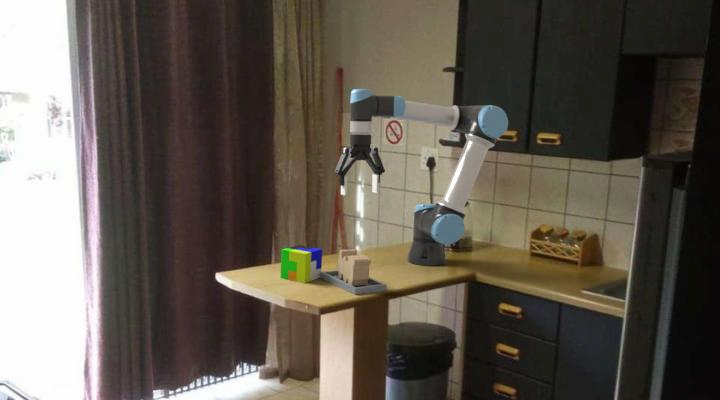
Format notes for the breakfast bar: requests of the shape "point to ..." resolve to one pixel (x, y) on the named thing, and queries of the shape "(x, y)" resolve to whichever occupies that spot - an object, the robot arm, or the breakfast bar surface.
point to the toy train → (353, 267)
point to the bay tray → (334, 279)
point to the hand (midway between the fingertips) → (359, 193)
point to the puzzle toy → (301, 263)
